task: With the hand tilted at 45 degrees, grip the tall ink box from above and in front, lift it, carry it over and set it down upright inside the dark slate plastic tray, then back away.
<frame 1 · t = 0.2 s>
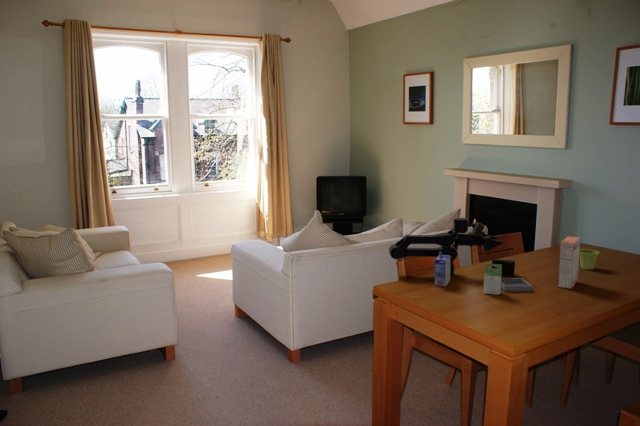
hand: (500, 240, 260), 17 cm above the table, tool horizontal, fingers open, 9 cm apart
plant pot: (587, 268, 272), on the table
ink cartridge box: (442, 283, 249), on the table
ink box: (491, 293, 234), on the table
tray: (513, 287, 242), on the table
digital camera: (502, 275, 262), on the table
cracker box: (567, 284, 246), on the table
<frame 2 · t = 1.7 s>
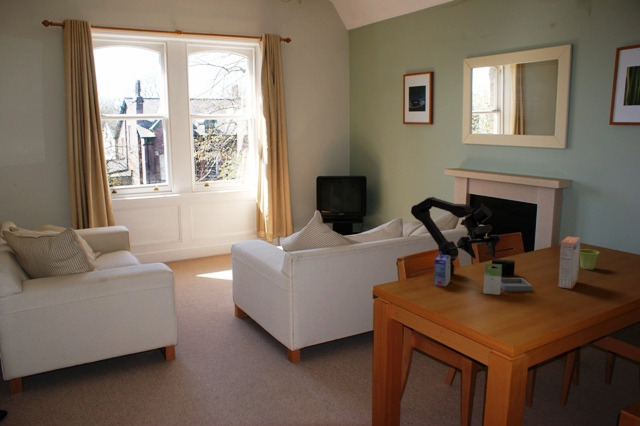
hand: (484, 257, 239), 14 cm above the table, tool tilted 45°, fingers open, 9 cm apart
nothing on the table moved.
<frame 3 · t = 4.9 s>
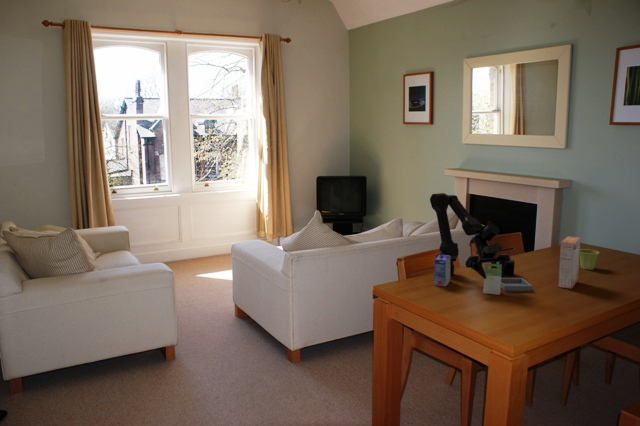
hand: (494, 277, 231), 7 cm above the table, tool tilted 45°, fingers closed on ink box, 8 cm apart
ink box: (491, 293, 234), on the table, touching gripper
everything else where it was.
when the fingers open (9 cm above the table, at t = 9.4 s): ink box stays where it is, resting on tray.
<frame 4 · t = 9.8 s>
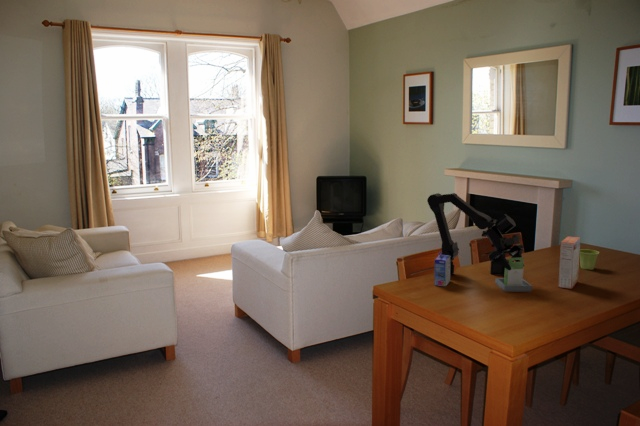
hand: (517, 268, 239), 9 cm above the table, tool tilted 45°, fingers open, 9 cm apart
ink box: (512, 286, 242), resting on tray
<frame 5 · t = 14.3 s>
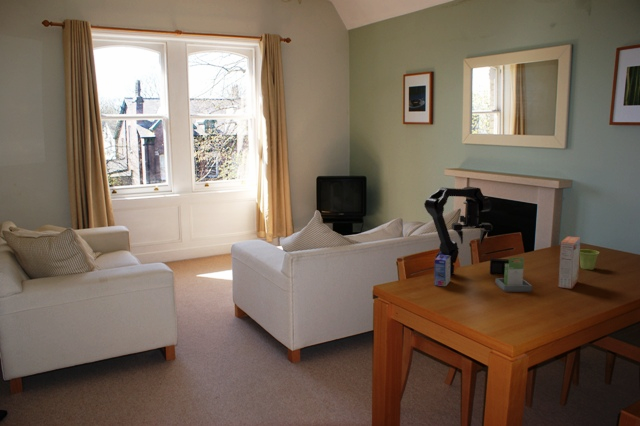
hand: (471, 243, 269), 13 cm above the table, tool pointing down, fingers open, 9 cm apart
at the end: ink box inside the target area on the tray (0.2 cm from its centre), point 0.4 cm above the tray's base; ink box tilted 0°; the gripper is holding nothing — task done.
